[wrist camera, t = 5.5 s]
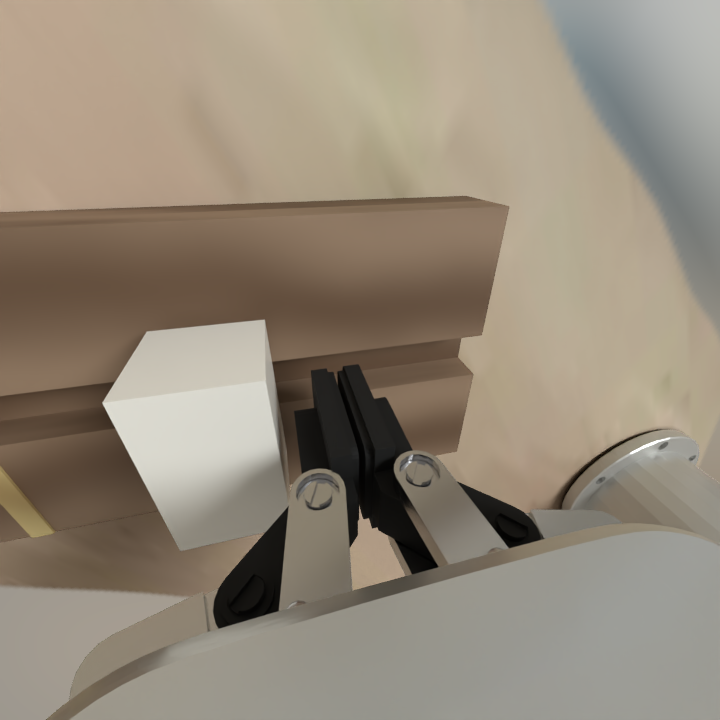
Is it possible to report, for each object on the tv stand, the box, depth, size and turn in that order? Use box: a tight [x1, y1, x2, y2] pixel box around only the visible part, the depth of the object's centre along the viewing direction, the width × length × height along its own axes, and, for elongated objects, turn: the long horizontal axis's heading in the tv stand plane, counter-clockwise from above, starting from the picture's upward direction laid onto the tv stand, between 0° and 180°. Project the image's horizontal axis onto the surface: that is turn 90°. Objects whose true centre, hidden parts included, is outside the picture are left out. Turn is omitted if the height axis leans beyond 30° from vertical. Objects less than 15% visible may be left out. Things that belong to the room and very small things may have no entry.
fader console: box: [0, 196, 509, 542], centre depth 14 cm, size 12×24×3 cm, turn 90°
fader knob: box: [102, 320, 290, 551], centre depth 12 cm, size 6×4×5 cm, turn 0°
